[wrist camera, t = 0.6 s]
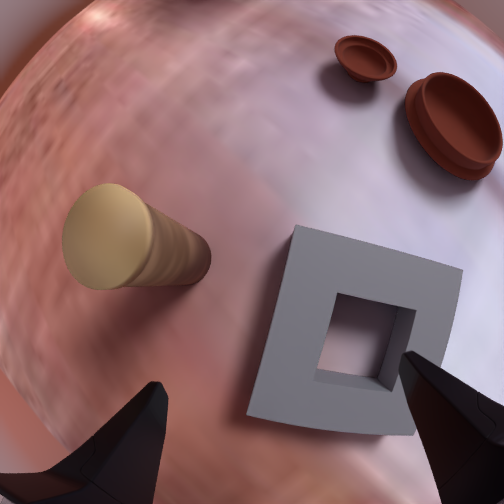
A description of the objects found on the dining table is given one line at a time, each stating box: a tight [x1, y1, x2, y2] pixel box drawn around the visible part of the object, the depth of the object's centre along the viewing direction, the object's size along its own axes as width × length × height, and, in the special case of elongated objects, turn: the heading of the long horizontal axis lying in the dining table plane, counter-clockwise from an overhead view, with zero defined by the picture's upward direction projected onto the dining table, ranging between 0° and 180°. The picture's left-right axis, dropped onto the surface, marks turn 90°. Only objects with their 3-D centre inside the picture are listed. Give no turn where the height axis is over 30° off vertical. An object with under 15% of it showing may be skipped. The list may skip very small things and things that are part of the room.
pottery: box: [335, 35, 503, 180], centre depth 21 cm, size 12×20×4 cm, turn 54°
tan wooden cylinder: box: [62, 183, 211, 290], centre depth 17 cm, size 5×5×12 cm
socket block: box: [246, 225, 463, 436], centre depth 20 cm, size 14×14×4 cm
